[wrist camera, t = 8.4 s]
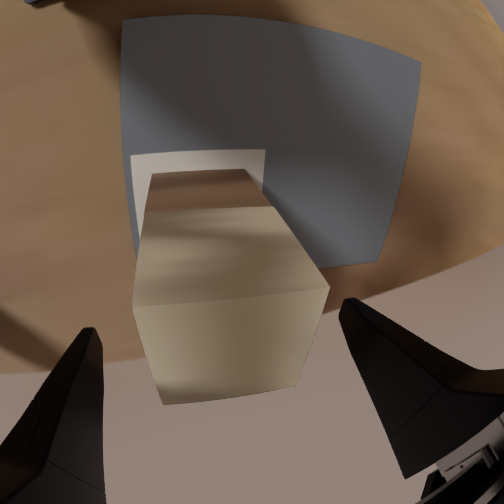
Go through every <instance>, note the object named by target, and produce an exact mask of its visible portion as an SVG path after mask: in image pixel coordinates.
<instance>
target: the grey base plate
mask: <svg viewBox="0 0 504 504" xmlns="http://www.w3.org/2000/svg"><path fill="white" fill-rule="evenodd" d="M420 72H421V62H419V61H417V60H415V59H412V58H410V57H408V56H405V55H403V54H400V53H398V52H395V51H393V50H390V49H387V48H384V47H382V46H379V45H376V44H373V43H370V42H367V41H364V40H361V39H357V38H354V37H351V36H347V35H344V34H340V33H336V32H332V31H328V30H324V29H320V28H315V27H310V26H306V25H300V24H295V23H289V22H283V21H277V20H269V19H261V18H252V17H241V16H226V15H169V16H154V17H143V18H134V19H127V20H123V24H122V38H121V60H120V109H121V133H122V148H123V161H124V172H125V182H126V191H127V199H128V207H129V214H130V221H131V227H132V234H133V240H134V246H135V251H136V257H137V258H138V251H139V244H140V237H141V231H142V225H143V219H144V210H145V205H146V200H147V195H148V190H149V185H150V181H151V176H152V174H154V173H166V172H180V171H197V170H219V169H245V170H246V171H247V173H248V174H249V175H250V177H251V178H252V179H253V181H254V182H255V183H256V185H257V186H258V187H259V189H260V190H261V192H262V193H263V194H264V196H265V197H266V198H267V200H268V201H269V203H270V204H271V205H272V206H274V208H275V209H276V210H277V212H278V213H279V215H280V216H281V217H282V219H283V220H284V221H285V223H286V224H287V226H288V227H289V228H290V230H291V231H292V233H293V234H294V235H295V237H296V238H297V240H298V241H299V243H300V244H301V245H302V247H303V248H304V250H305V251H306V253H307V254H308V255H309V257H310V258H311V260H312V261H313V263H314V264H315V265H316V267H317V268H318V269H320V268H329V267H337V266H345V265H353V264H361V263H368V262H376V261H378V259H379V256H380V253H381V250H382V247H383V244H384V241H385V237H386V234H387V231H388V228H389V224H390V221H391V217H392V214H393V210H394V207H395V203H396V199H397V196H398V192H399V188H400V184H401V180H402V176H403V172H404V167H405V163H406V158H407V154H408V149H409V144H410V139H411V134H412V128H413V122H414V117H415V110H416V104H417V97H418V89H419V81H420Z"/></svg>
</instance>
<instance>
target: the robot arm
mask: <svg viewBox="0 0 504 504" xmlns="http://www.w3.org/2000/svg"><path fill="white" fill-rule="evenodd" d="M39 1H42V0H24V2H25V3H27V4H34V3H36V2H39ZM339 321H340V324H341V327H342V330H343V333H344V336H345V338H346V341H347V344H348V347H349V350H350V352H351V355H352V357H353V359H354V362H355V364H356V366H357V368H358V370H359V372H360V375H361V377H362V379H363V381H364V383H365V385H366V388H367V390H368V392H369V395H370V396H371V399H372V401H373V404H374V406H375V408H376V411H377V413H378V415H379V417H380V420H381V422H382V424H383V427H384V429H385V432H386V434H387V436H388V439H389V442H390V444H391V446H392V449H393V451H394V454H395V456H396V459H397V461H398V464H399V466H400V469H401V471H402V474H403V476H404V478H405V479H407V478H409V477H411V476H413V475H415V474H416V473H418V472H420V471H422V470H424V469H425V468H427V467H429V466H431V465H432V464H434V463H435V464H436V465H437V467H438V469H436V470H435V471H433V472H432V473H430V474H429V475H428V477H427V480H426V483H425V487H424V490H423V493H422V496H421V501H419V502H417V503H416V504H504V369H497V370H479V369H476V368H473V367H471V366H469V365H467V364H465V363H463V362H461V361H460V360H458V359H456V358H454V357H452V356H450V355H448V354H446V353H444V352H443V351H441V350H439V349H438V348H436V347H434V346H432V345H431V344H429V343H428V342H425V341H424V340H423V339H421V338H420V337H418V336H416V335H415V334H413V333H412V332H410V331H408V330H407V329H405V328H403V327H402V326H400V325H399V324H397V323H396V322H394V321H392V320H391V319H389V318H387V317H386V316H384V315H383V314H381V313H379V312H378V311H376V310H374V309H373V308H371V307H369V306H368V305H366V304H365V303H363V302H361V301H360V300H358V299H356V298H354V297H352V298H347V299H345V300H344V301H343V303H342V306H341V309H340V312H339ZM103 397H104V379H103V347H102V343H101V340H100V338H99V336H98V334H97V331H96V329H95V328H94V327H85V328H83V329H82V330H81V331H80V333H79V334H78V335H77V337H76V338H75V339H74V341H73V342H72V343H71V345H70V346H69V347H68V349H67V350H66V352H65V353H64V354H63V356H62V357H61V358H60V360H59V361H58V363H57V364H56V366H55V367H54V368H53V370H52V371H51V373H50V374H49V376H48V377H47V379H46V380H45V382H44V383H43V384H42V386H41V388H40V389H39V391H38V392H37V394H36V395H35V397H34V400H32V401H31V403H30V404H29V406H28V407H27V409H26V410H25V412H24V413H23V415H22V416H21V418H20V420H19V421H18V422H17V423H16V425H15V426H14V428H13V429H12V430H11V431H10V433H9V434H8V436H7V437H6V438H5V440H4V441H3V442H2V444H1V445H0V504H106V494H105V483H104V468H103Z"/></svg>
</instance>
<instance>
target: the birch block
mask: <svg viewBox="0 0 504 504" xmlns="http://www.w3.org/2000/svg"><path fill="white" fill-rule="evenodd" d="M329 289H330V286H329V285H328V283H327V282H326V280H325V279H324V277H323V276H322V274H321V273H320V271H319V270H318V268H317V267H316V265H315V264H314V263H313V261H312V260H311V258H310V257H309V255H308V254H307V253H306V251H305V250H304V248H303V247H302V245H301V244H300V243H299V241H298V240H297V238H296V237H295V235H294V234H293V233H292V231H291V230H290V228H289V227H288V226H287V224H286V223H285V221H284V220H283V219H282V217H281V216H280V215H279V213H278V212H277V210H276V209H275V208H274V206H270V207H238V208H215V209H195V210H178V211H163V212H149V213H145V214H144V219H143V225H142V231H141V237H140V244H139V251H138V258H137V266H136V274H135V282H134V291H133V301H132V309H133V313H134V316H135V320H136V324H137V327H138V331H139V334H140V338H141V341H142V345H143V348H144V351H145V354H146V357H147V360H148V363H149V367H150V369H151V373H152V375H153V378H154V381H155V384H156V387H157V390H158V392H159V395H160V398H161V400H162V403H163V405H169V404H182V403H194V402H203V401H212V400H220V399H227V398H234V397H240V396H247V395H253V394H258V393H264V392H269V391H274V390H279V389H284V388H289V387H293V386H296V385H297V382H298V379H299V377H300V374H301V372H302V369H303V366H304V363H305V361H306V358H307V355H308V352H309V350H310V347H311V344H312V341H313V338H314V336H315V333H316V330H317V327H318V324H319V321H320V318H321V315H322V312H323V309H324V305H325V302H326V299H327V296H328V293H329Z"/></svg>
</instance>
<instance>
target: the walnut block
mask: <svg viewBox="0 0 504 504" xmlns="http://www.w3.org/2000/svg"><path fill="white" fill-rule="evenodd" d="M270 206H272V205H271V204H270V203H269V201H268V200H267V198H266V197H265V196H264V194H263V193H262V192H261V190H260V189H259V187H258V186H257V185H256V183H255V182H254V181H253V179H252V178H251V177H250V175H249V174H248V173H247V171H246V170H245V169H219V170H197V171H180V172H166V173H154V174H152V176H151V181H150V185H149V190H148V195H147V200H146V205H145V210H144V214H145V213H149V212H163V211H178V210H195V209H215V208H238V207H270Z"/></svg>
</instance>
